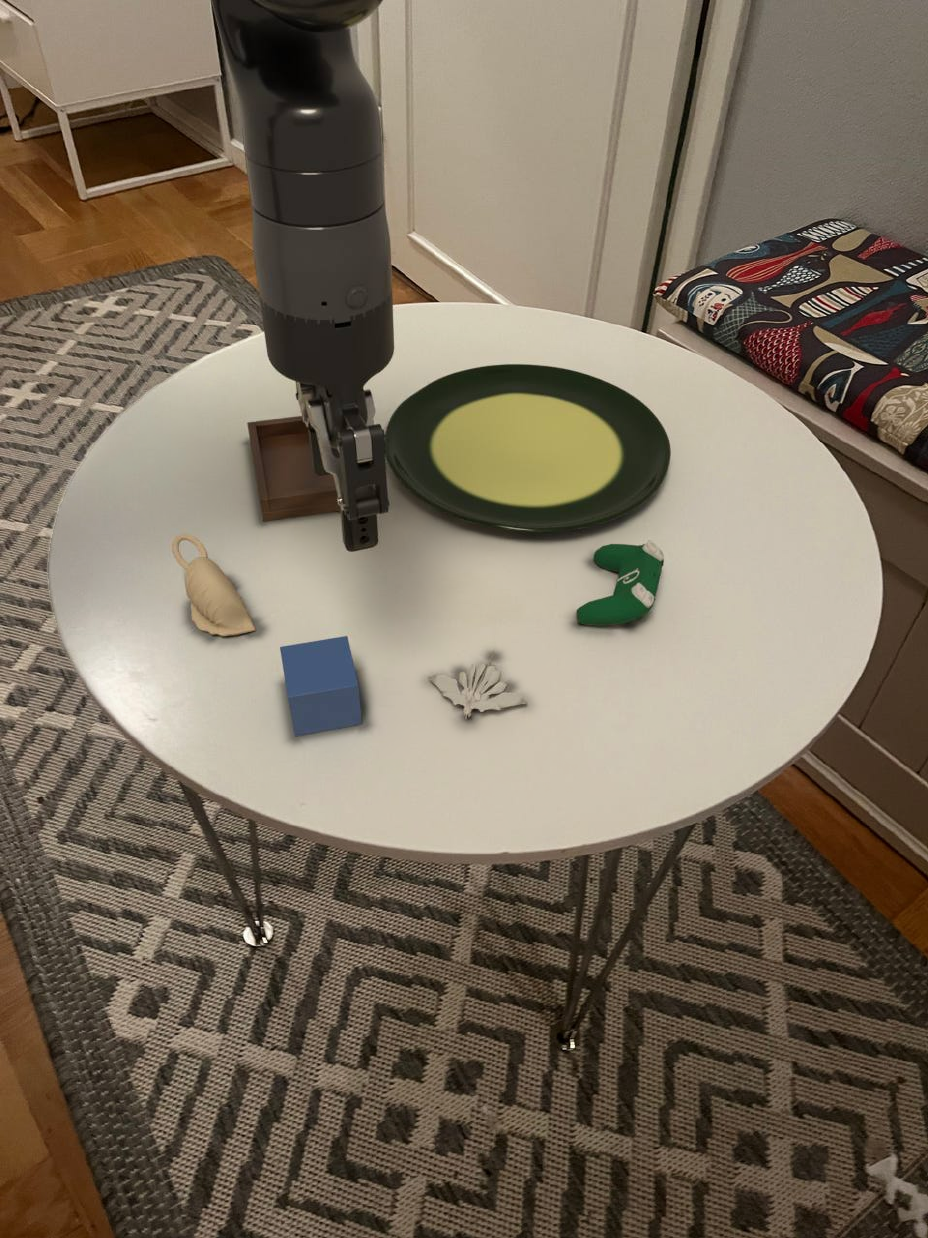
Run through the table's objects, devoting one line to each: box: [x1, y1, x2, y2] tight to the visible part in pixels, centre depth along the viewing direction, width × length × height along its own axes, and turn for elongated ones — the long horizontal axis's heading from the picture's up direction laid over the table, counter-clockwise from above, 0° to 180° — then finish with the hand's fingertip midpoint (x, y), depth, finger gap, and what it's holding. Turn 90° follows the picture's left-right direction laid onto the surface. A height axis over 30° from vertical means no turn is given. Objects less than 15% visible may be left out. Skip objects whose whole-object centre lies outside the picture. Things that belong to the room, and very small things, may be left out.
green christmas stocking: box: [576, 539, 665, 626], centre depth 80 cm, size 9×4×6 cm
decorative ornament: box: [171, 533, 257, 637], centre depth 77 cm, size 4×8×5 cm, turn 29°
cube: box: [279, 635, 363, 737], centre depth 70 cm, size 5×5×4 cm
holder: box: [246, 415, 340, 522], centre depth 91 cm, size 11×13×2 cm
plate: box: [384, 363, 672, 533], centre depth 94 cm, size 28×28×2 cm
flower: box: [427, 652, 528, 720], centre depth 73 cm, size 8×8×3 cm
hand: (344, 507), depth 65 cm, fingers open, 8 cm apart
